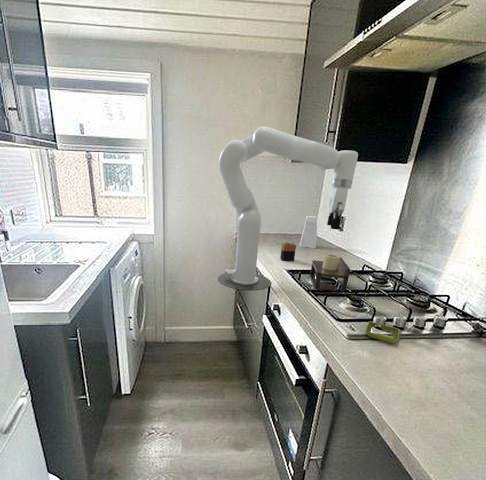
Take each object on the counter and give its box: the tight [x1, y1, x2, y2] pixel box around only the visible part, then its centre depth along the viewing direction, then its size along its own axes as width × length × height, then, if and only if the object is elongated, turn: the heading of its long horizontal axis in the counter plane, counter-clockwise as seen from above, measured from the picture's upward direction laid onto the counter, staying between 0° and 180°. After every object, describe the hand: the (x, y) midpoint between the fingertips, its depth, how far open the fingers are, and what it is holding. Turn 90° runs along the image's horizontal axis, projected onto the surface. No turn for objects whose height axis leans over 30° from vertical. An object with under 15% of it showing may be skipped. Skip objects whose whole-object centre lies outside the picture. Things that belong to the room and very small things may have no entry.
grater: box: [299, 215, 319, 249], centre depth 204 cm, size 10×10×20 cm
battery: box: [279, 241, 297, 262], centre depth 168 cm, size 4×7×10 cm, turn 96°
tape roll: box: [322, 253, 341, 270], centre depth 129 cm, size 6×6×6 cm
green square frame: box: [365, 320, 401, 344], centre depth 91 cm, size 9×9×2 cm
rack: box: [309, 256, 351, 292], centre depth 132 cm, size 12×20×11 cm, turn 168°
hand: (332, 227), depth 125 cm, fingers open, 9 cm apart
